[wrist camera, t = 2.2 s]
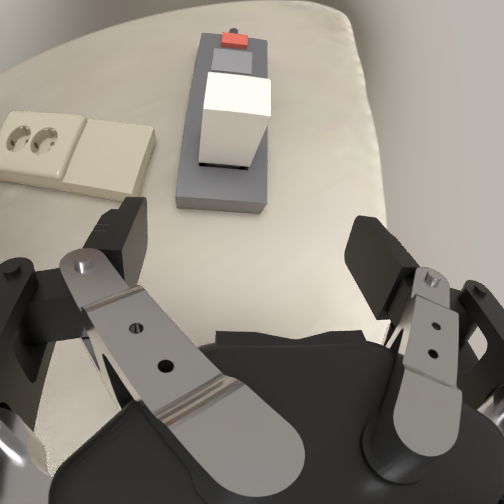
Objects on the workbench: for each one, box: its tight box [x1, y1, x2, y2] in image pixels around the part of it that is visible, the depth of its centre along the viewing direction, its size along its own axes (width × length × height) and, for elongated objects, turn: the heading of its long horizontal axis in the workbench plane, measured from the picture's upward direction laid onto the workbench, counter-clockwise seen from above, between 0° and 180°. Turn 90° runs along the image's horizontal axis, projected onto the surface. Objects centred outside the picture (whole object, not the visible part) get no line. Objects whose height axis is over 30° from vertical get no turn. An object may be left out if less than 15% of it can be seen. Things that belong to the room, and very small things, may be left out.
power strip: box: [176, 28, 267, 214], centre depth 31 cm, size 8×26×4 cm, turn 179°
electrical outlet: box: [0, 111, 156, 202], centre depth 27 cm, size 7×4×18 cm
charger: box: [199, 72, 271, 169], centre depth 26 cm, size 5×4×12 cm
